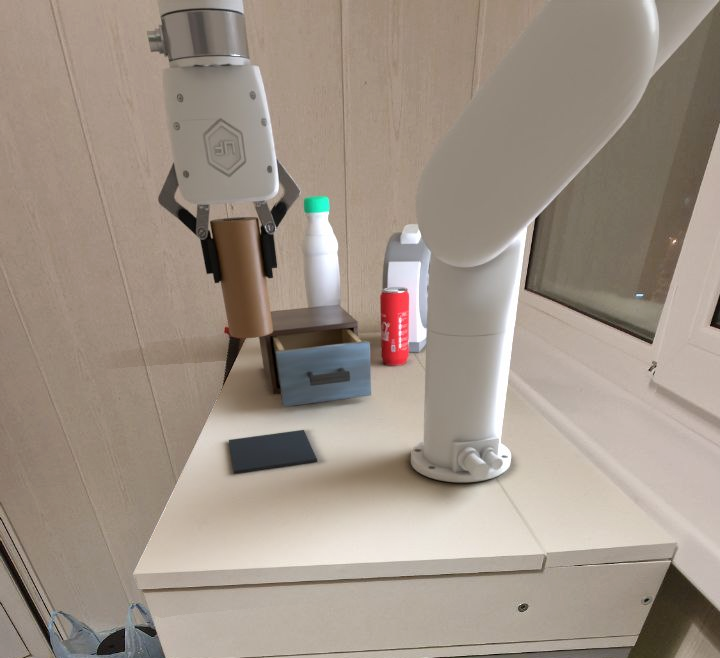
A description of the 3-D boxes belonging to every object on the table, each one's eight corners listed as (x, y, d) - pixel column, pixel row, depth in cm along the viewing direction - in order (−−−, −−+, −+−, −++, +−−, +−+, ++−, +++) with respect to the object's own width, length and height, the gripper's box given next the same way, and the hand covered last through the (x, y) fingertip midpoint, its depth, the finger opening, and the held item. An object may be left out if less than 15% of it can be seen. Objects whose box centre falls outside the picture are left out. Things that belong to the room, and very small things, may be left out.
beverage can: (406, 366, 104) (407, 292, 96) (379, 366, 105) (377, 292, 97) (410, 358, 108) (411, 286, 100) (384, 358, 109) (382, 287, 101)
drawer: (378, 403, 87) (376, 349, 81) (287, 415, 85) (279, 360, 79) (351, 371, 100) (349, 322, 95) (272, 380, 98) (265, 331, 93)
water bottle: (306, 345, 119) (291, 197, 103) (336, 340, 121) (326, 194, 105) (318, 353, 114) (304, 198, 98) (349, 347, 116) (341, 195, 100)
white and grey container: (422, 357, 108) (426, 229, 95) (381, 355, 110) (378, 230, 97) (441, 334, 121) (446, 218, 108) (403, 333, 123) (404, 220, 110)
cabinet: (360, 382, 98) (357, 321, 92) (273, 393, 96) (264, 331, 89) (342, 360, 109) (338, 304, 103) (263, 369, 107) (255, 312, 101)
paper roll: (275, 335, 65) (260, 218, 58) (231, 340, 65) (210, 222, 57) (270, 326, 69) (255, 215, 62) (228, 330, 68) (208, 218, 61)
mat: (317, 461, 73) (317, 458, 73) (234, 473, 72) (233, 470, 71) (304, 432, 81) (303, 429, 81) (229, 442, 80) (228, 439, 80)
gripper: (107, 43, 47) (166, 291, 59) (304, 39, 50) (322, 277, 62) (115, 56, 53) (167, 280, 65) (292, 51, 55) (311, 268, 67)
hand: (243, 276), depth 63 cm, fingers closed on paper roll, 5 cm apart
